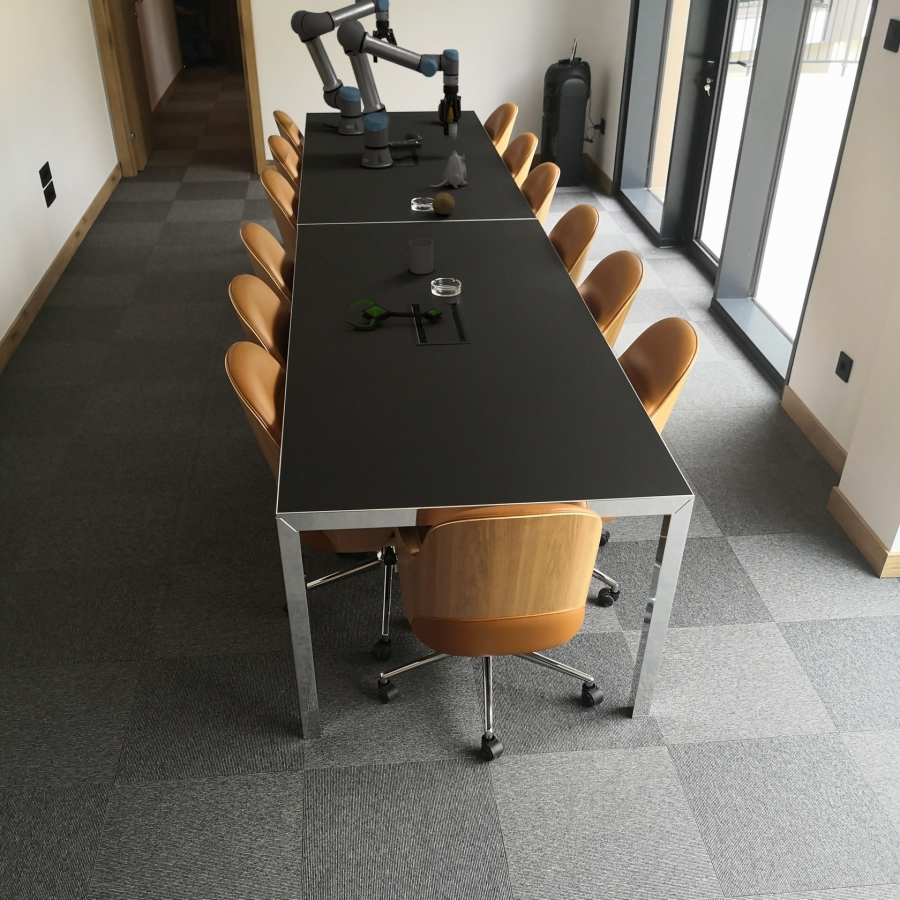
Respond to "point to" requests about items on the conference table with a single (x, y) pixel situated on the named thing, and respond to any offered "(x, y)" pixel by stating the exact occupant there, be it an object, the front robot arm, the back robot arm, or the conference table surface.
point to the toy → (454, 171)
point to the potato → (443, 203)
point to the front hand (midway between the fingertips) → (450, 133)
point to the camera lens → (452, 131)
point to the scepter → (389, 314)
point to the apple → (449, 114)
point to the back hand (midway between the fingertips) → (383, 61)
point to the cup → (421, 256)
